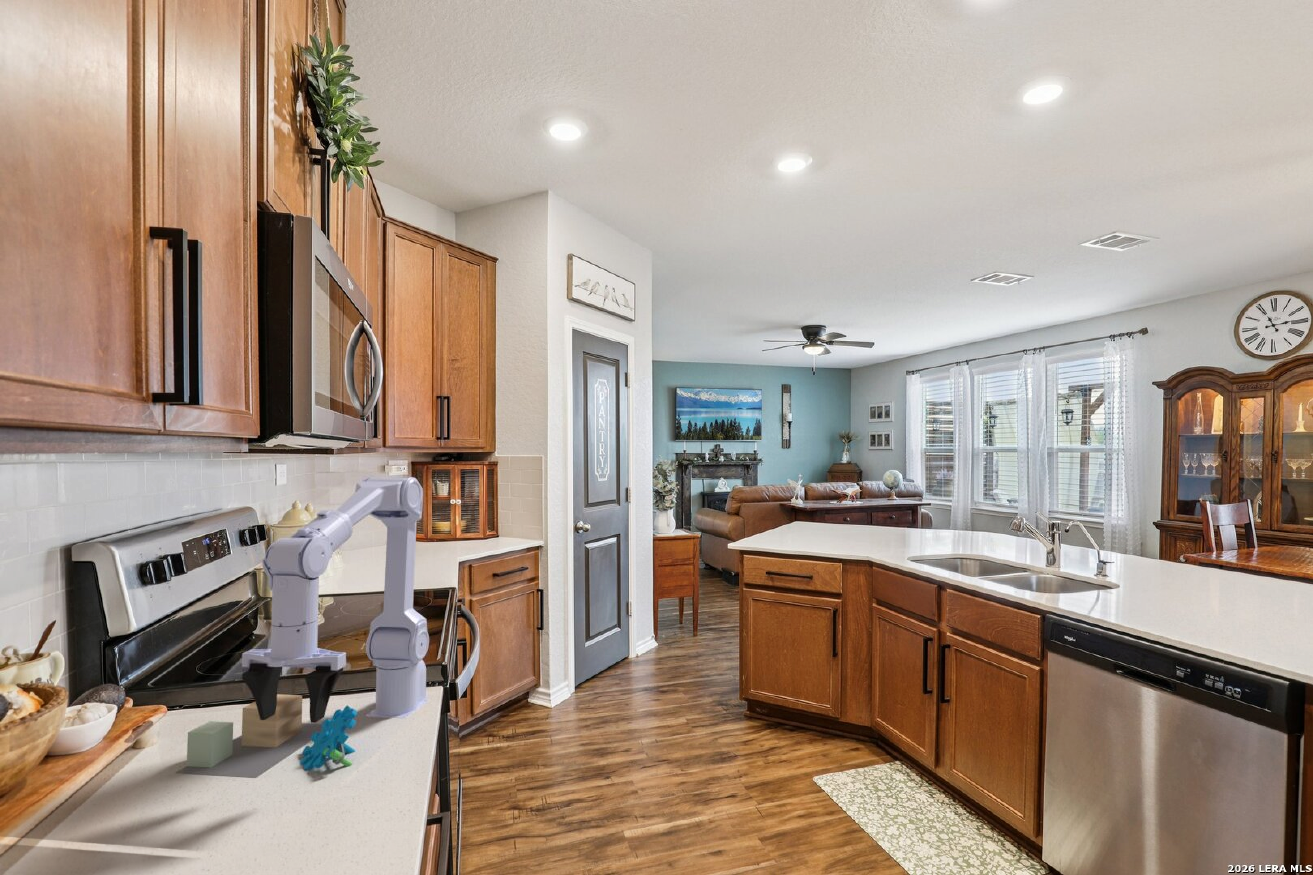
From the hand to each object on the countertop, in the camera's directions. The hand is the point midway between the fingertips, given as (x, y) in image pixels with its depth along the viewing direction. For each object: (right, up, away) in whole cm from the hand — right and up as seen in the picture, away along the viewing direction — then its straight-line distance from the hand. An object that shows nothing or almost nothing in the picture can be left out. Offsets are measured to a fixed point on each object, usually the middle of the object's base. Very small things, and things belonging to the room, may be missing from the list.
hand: (292, 718), depth 86 cm
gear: (+1, -11, +8) cm, 13 cm away
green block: (-17, -10, +7) cm, 21 cm away
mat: (-12, -11, +12) cm, 20 cm away
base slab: (-12, -10, +15) cm, 22 cm away
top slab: (-12, -7, +15) cm, 21 cm away
